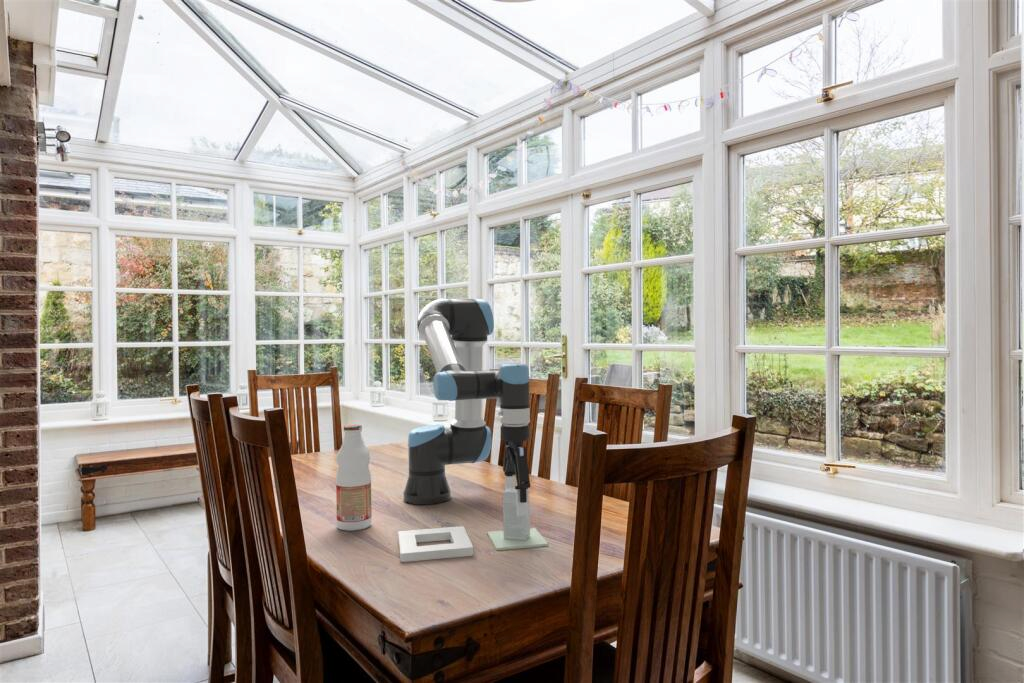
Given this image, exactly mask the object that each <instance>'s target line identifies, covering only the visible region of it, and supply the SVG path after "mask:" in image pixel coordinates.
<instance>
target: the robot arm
mask: <svg viewBox="0 0 1024 683" xmlns="http://www.w3.org/2000/svg"><path fill="white" fill-rule="evenodd" d="M416 322H417V324H416V325H417V331H418V335H419V336H420V338H421V339H422V340H423V341H425V343H426V346H427V348H428V349H427V350H428V352H429V354H430V357H431V360H432V363H433V366H434V368H435V371H436V373H435V374H434V375H433V376H434V377H433V386H432V387H433V394H434V398H435V399H437V400H438V401H449V402H452V401H455V405H454V409H455V410H454V418H453V419H452V420H451V421H450V425H449V426H450V427H449V428H446V427H445V425H443V424H440V423H438V424H430V425H424V426H419V427H415V428H413V429H412V430H410V432H409V433H408V437H407V438H408V440H407V447H408V449H407V451H408V452H407V453H408V477H407V480H406V483H405V484H406V485H405V486H404V487H405V488H404V491H403V501H404V502H405V501H406V502H405V503H407V502H409V503H408V504H411V503H414V504H413V505H421V504H425V505H435V504H434V503H436V504H441V503H445V502H447V501H450V500H451V499H452V496H451V494H452V493H451V492H452V491H451V489H450V485H449V482H448V480H447V476H446V466H448V465H449V466H450V465H460V464H461V465H462V464H475V463H482V462H485V461H486V460H487V458H489V455H490V453H491V450H492V449H491V448H492V436H491V435H492V431H491V428H490V427H489V426H487V425H486V423H487V422H486V421H485V420H484V419H483V417H482V401H483V400H486V399H488V400H489V399H499V405H500V407H499V408H500V411H498V412H497V415H498V416H499V417H500V424H501V425H500V427H499V428H500V440H502V441H503V442H504V445H505V446H504V456H503V466H502V467H503V468H502V471H503V473H504V491H505V490H506V489H507V488H510V489H515V490H516V498H517V516H521V515H528V490H529V489H530V487H531V480H530V474H529V464H528V457H527V450H528V449H527V447H526V446H524V445H523V442H527V441H529V440H530V438H531V427H530V425H529V424H530V422H531V408H530V381H531V380H530V379H531V377H530V371H529V366H528V364H525V363H503V364H501V365H500V366H499V369H494V370H492V369H491V370H483V347H484V345H485V344H486V343H487V342H488V336H491V335H492V334H493V333H494V327H495V323H494V313H493V310H492V308H491V305H490V304H489V302H488V301H487V300H486V299H480V298H439V299H435V300H433V301H431V302H429V303H428V304H426V306H424V307H423V308H422V309H421V311H420V313H419V315H418V317H417V321H416ZM444 501H445V502H444Z"/></svg>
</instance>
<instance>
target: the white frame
mask: <svg viewBox="0 0 1024 683" xmlns="http://www.w3.org/2000/svg"><path fill="white" fill-rule="evenodd" d="M397 538H398V541H397V542H398V547H399V557H400V558H399V560H400V563H409V562H417V561H418V562H420V561H429V560H430V561H432V560H439V559H442V560H443V559H448V558H449V559H451V558H462V557H463V558H464V557H473V556H474V545H473V544H472V541H471V539H470V537H469V535H468V533H467V531H466V529H465V527H464V525H462V526H461V525H460V526H450V527H449V526H447V527H435V528H423V529H410V530H409V529H408V530H398V531H397ZM439 541H450V543H441V544H431V545H430V544H429V545H420V546H418V544H417V543H426V542H427V543H428V542H439Z"/></svg>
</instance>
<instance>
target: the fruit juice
mask: <svg viewBox="0 0 1024 683" xmlns="http://www.w3.org/2000/svg"><path fill="white" fill-rule="evenodd" d="M362 431H363V425H362V424H346V425H344V426H343V432H344V438H343V441H342V444H341V446H340V448H339V450H338V451H337V453H336V460H335V461H336V463H337V464H336V465H337V467H338V468H337V472H336V478H335V486H336V488H335V489H336V492H335V493H336V499H335V500H336V501H335V502H336V527H337V529H339V530H342V531H346V532H347V531H348V532H350V531H351V532H352V531H353V532H354V531H361V530H364V529H367V528H369V527H370V526H371V525H372V520H373V518H372V516H373V515H372V514H373V512H372V511H373V510H372V475H371V474H372V473H371V470H370V466H369V465H370V460H371V454H370V451H369V449H368V448H367V446H366V444H365V442H364V438H363V437H362Z"/></svg>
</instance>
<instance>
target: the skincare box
mask: <svg viewBox="0 0 1024 683" xmlns="http://www.w3.org/2000/svg"><path fill="white" fill-rule="evenodd" d="M530 519H531V518H530V490H529V489H528V515H521V516H517V498H516V490H515V489H510V488H507V489H506V490H505V489H504V491H502V521H503V522H502V525H503V526H502V531H503V534H504V539H515V540H526V539H527V538H528V537H529V536H530V528H531V522H530V521H531V520H530Z"/></svg>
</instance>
